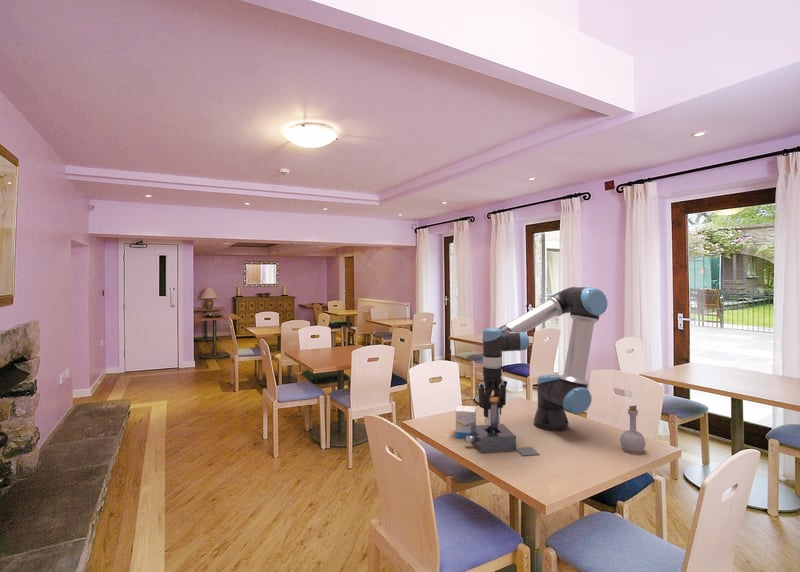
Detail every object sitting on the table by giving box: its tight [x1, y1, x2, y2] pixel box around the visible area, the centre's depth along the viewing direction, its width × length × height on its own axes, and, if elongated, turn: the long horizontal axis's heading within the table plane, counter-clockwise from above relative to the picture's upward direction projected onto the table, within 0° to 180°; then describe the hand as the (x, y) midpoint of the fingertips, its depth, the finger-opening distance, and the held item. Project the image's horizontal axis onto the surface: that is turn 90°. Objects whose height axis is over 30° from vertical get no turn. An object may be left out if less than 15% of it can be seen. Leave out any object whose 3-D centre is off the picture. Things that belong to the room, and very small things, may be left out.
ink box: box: [455, 405, 477, 439], centre depth 185 cm, size 9×8×12 cm
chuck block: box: [465, 423, 517, 454], centre depth 173 cm, size 18×14×6 cm
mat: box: [516, 446, 541, 457], centre depth 166 cm, size 7×7×1 cm
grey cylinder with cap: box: [488, 393, 499, 433], centre depth 173 cm, size 5×5×16 cm
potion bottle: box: [619, 405, 646, 455], centre depth 167 cm, size 9×9×18 cm
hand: (492, 423), depth 173 cm, fingers closed on grey cylinder with cap, 4 cm apart
